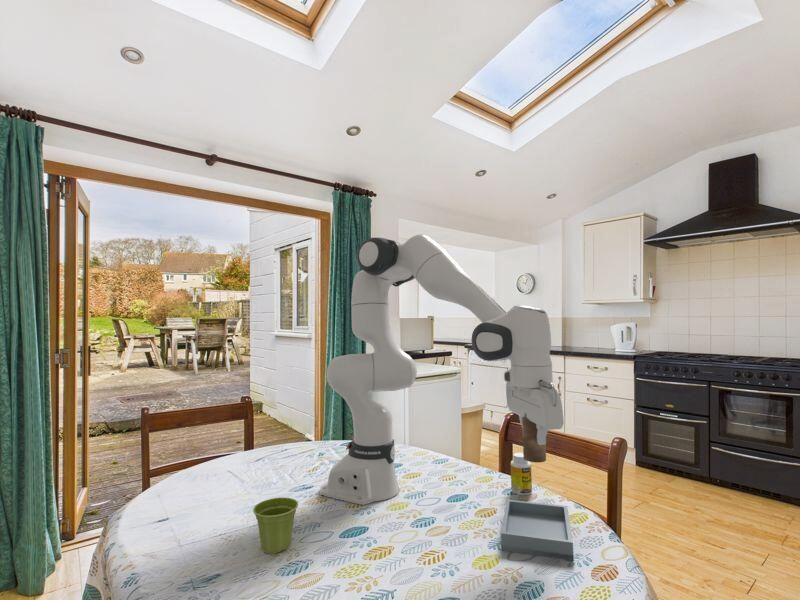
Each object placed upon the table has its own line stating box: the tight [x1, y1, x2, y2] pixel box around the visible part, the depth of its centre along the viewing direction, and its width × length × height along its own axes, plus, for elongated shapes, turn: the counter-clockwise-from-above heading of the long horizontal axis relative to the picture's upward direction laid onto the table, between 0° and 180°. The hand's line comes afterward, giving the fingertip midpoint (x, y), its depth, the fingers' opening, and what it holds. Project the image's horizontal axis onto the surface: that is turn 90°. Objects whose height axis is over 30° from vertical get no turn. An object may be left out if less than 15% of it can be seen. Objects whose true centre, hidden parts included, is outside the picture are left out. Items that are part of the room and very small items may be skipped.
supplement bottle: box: [510, 452, 533, 496], centre depth 118 cm, size 6×6×10 cm
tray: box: [500, 499, 574, 561], centre depth 95 cm, size 14×17×4 cm
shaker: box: [522, 413, 547, 463], centre depth 95 cm, size 5×5×10 cm
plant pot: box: [252, 497, 299, 554], centre depth 93 cm, size 9×9×9 cm
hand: (533, 440), depth 95 cm, fingers closed on shaker, 5 cm apart
